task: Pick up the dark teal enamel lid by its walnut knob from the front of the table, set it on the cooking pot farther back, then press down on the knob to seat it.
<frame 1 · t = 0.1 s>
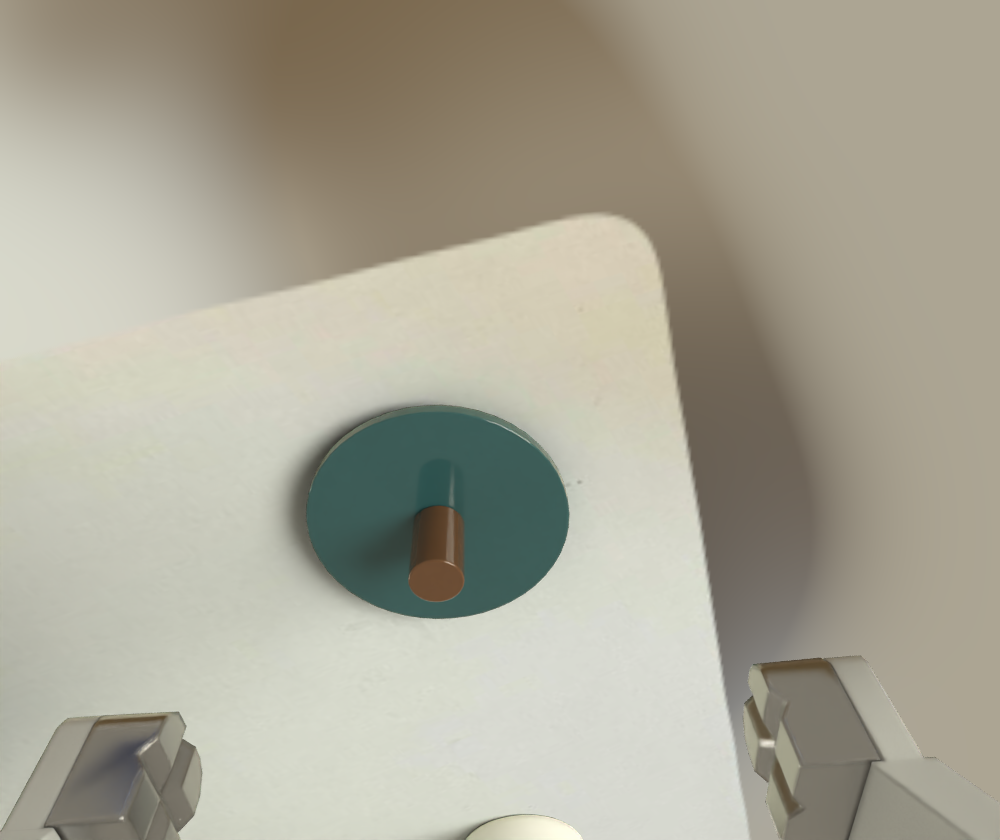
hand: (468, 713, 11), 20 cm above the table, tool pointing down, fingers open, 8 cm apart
lid: (439, 516, 33), point 1 cm above the table
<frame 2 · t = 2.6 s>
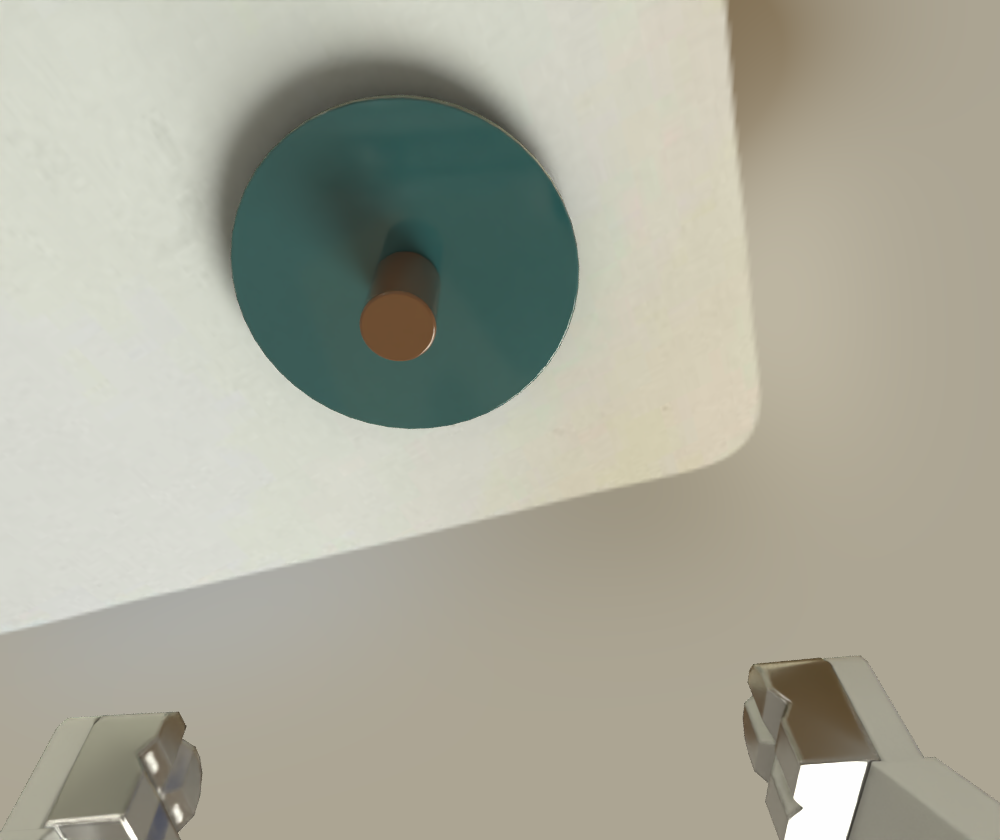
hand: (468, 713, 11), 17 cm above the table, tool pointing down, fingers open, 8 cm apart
lid: (408, 276, 25), point 1 cm above the table
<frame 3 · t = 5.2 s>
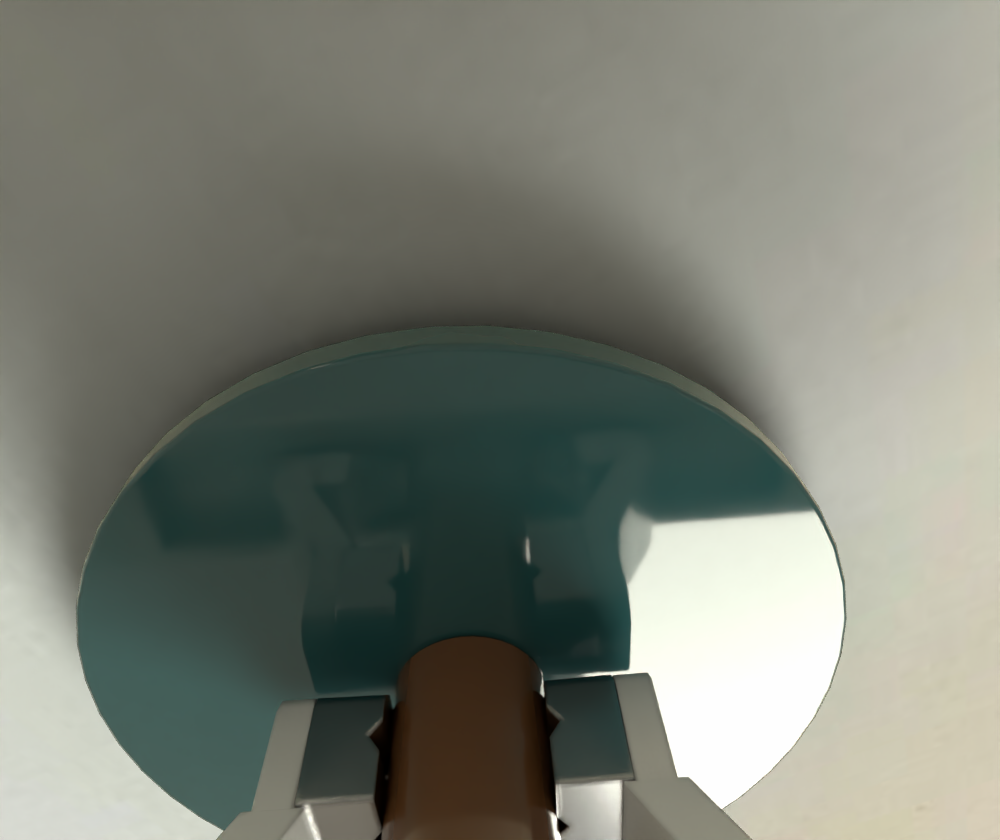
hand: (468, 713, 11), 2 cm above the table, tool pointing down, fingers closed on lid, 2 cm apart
lid: (469, 653, 12), point 1 cm above the table, touching gripper
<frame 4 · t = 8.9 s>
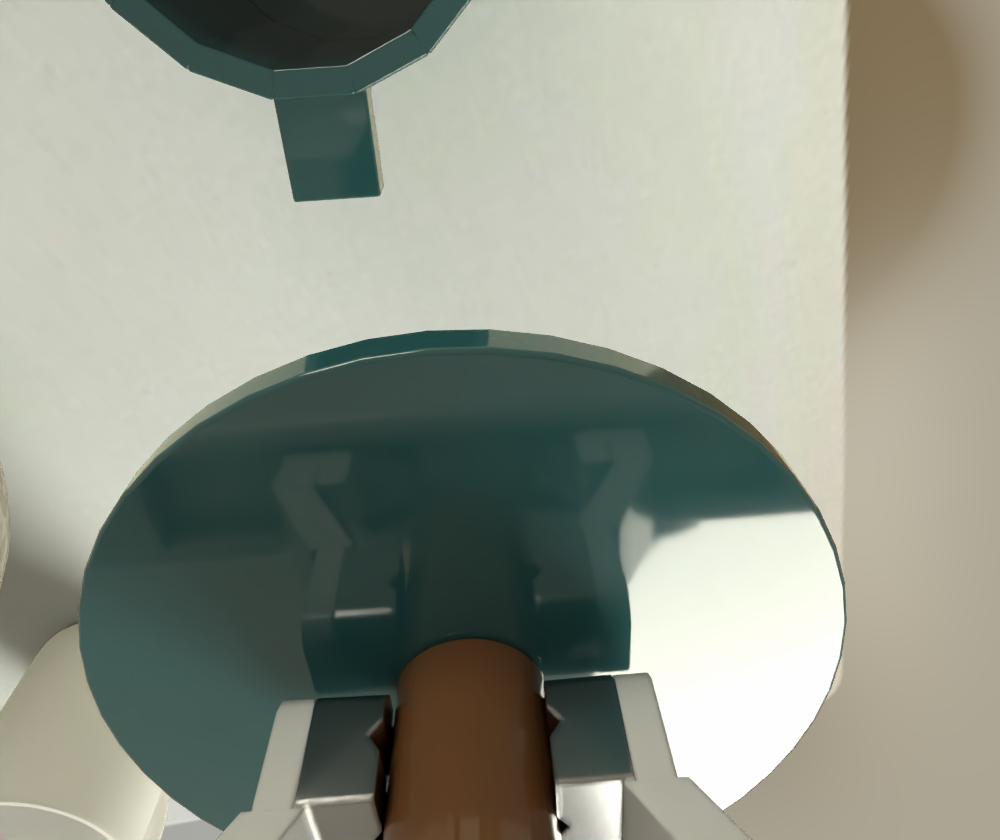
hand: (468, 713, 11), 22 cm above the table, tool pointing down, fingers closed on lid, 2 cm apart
lid: (470, 655, 12), point 21 cm above the table, touching gripper
cup: (140, 688, 42), on the table
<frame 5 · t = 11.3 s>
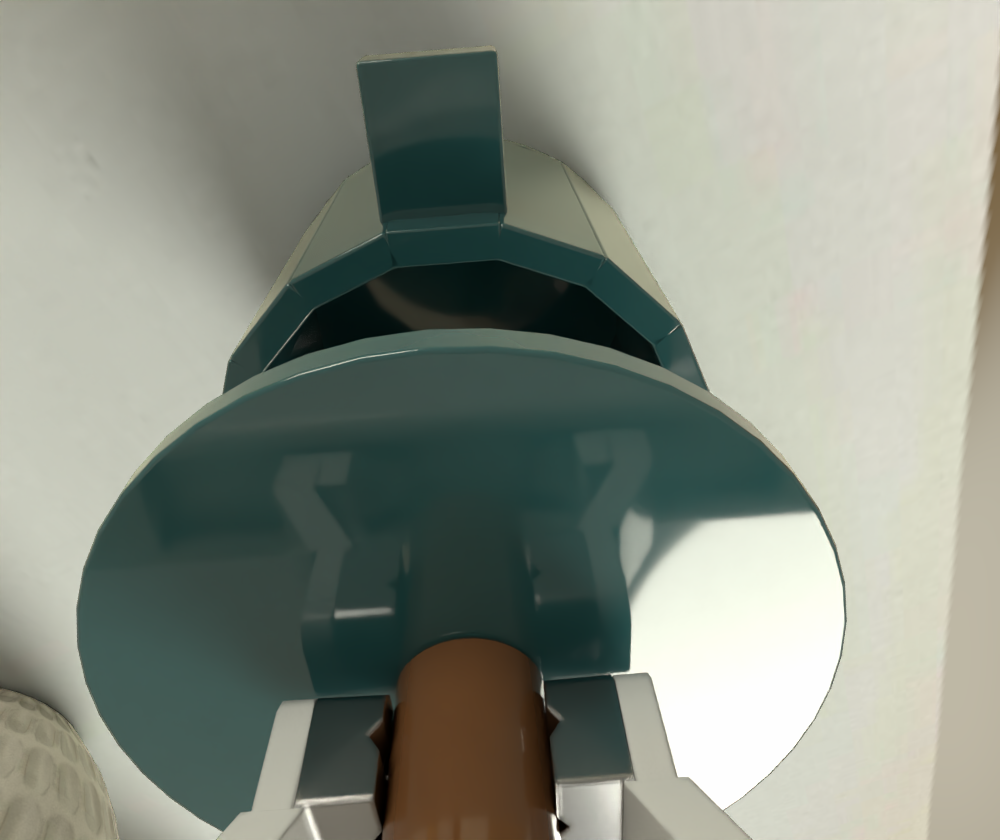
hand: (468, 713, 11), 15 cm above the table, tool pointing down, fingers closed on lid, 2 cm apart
vase: (0, 734, 33), on the table
lid: (469, 655, 12), point 14 cm above the table, touching gripper
cooking pot: (467, 311, 23), on the table
when the fingers open (9 cm above the table, at t = 12.8 s): lid stays where it is, resting on cooking pot.
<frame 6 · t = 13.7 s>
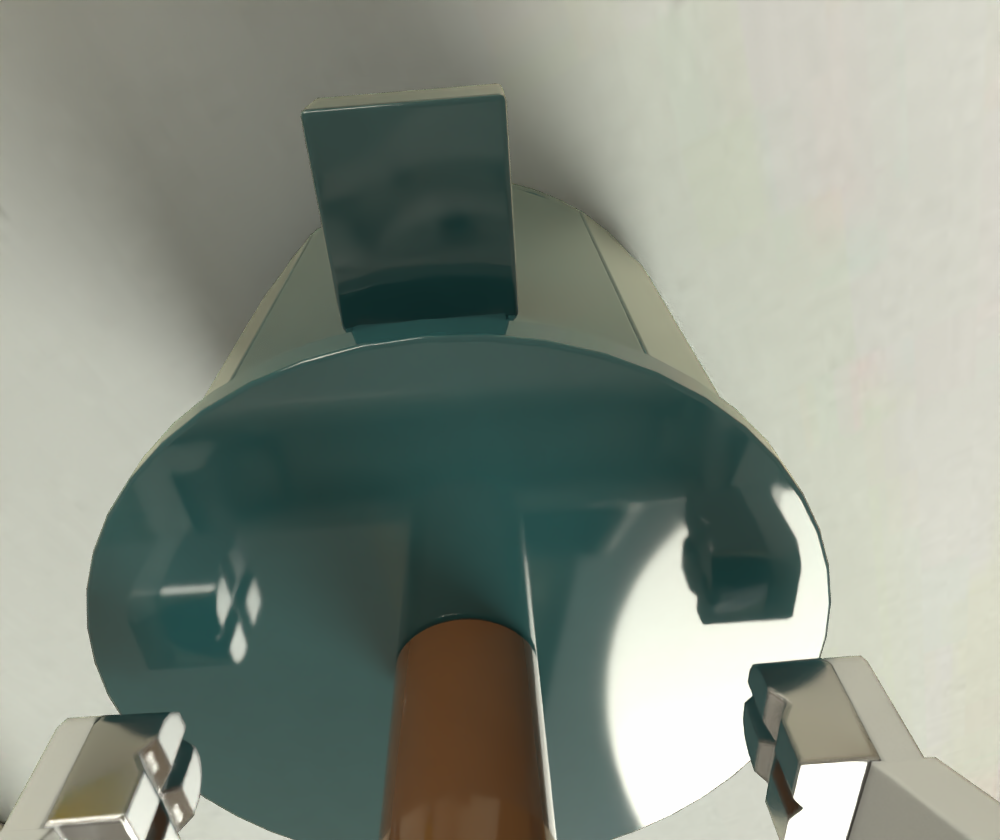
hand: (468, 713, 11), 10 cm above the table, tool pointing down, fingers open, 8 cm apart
lid: (466, 637, 12), point 8 cm above the table, touching cooking pot
cooking pot: (465, 384, 19), on the table
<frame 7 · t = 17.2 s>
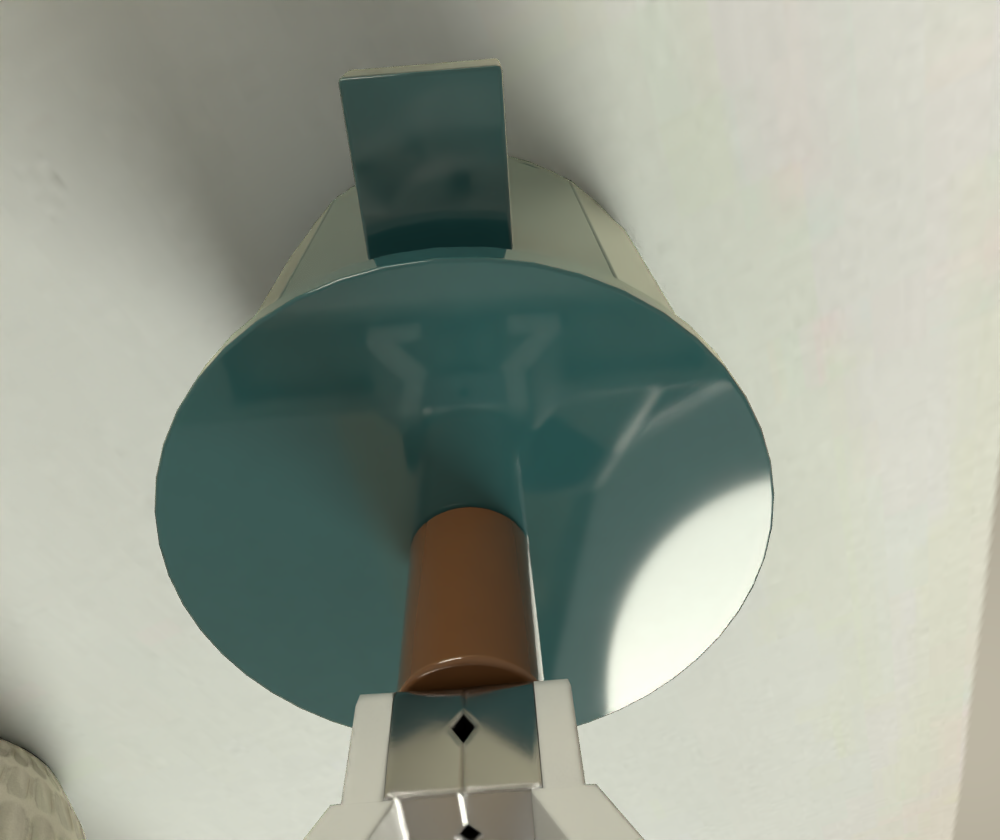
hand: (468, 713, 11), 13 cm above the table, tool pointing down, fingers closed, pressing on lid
lid: (469, 531, 14), point 8 cm above the table, touching gripper, cooking pot
cooking pot: (467, 339, 22), on the table
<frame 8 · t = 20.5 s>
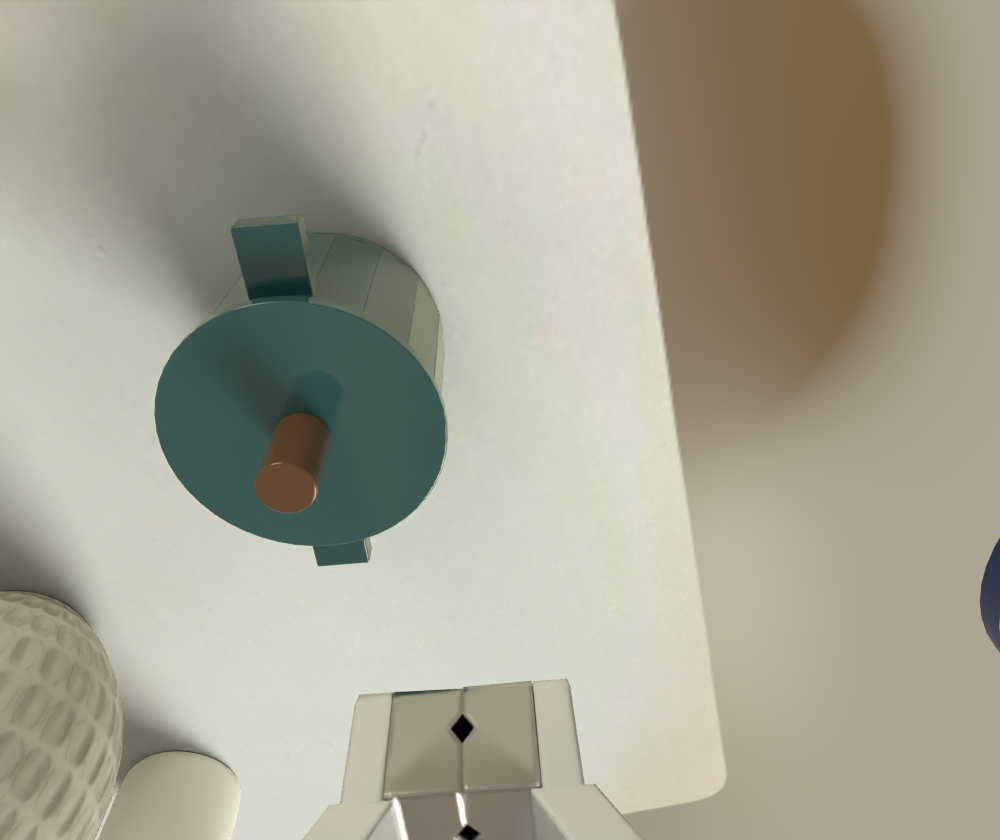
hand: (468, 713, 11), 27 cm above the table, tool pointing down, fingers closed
vase: (35, 629, 47), on the table
lid: (306, 427, 30), point 8 cm above the table, touching cooking pot
cooking pot: (336, 336, 37), on the table
cup: (197, 796, 56), on the table
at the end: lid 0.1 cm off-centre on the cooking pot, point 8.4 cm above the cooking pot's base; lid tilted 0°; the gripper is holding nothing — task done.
